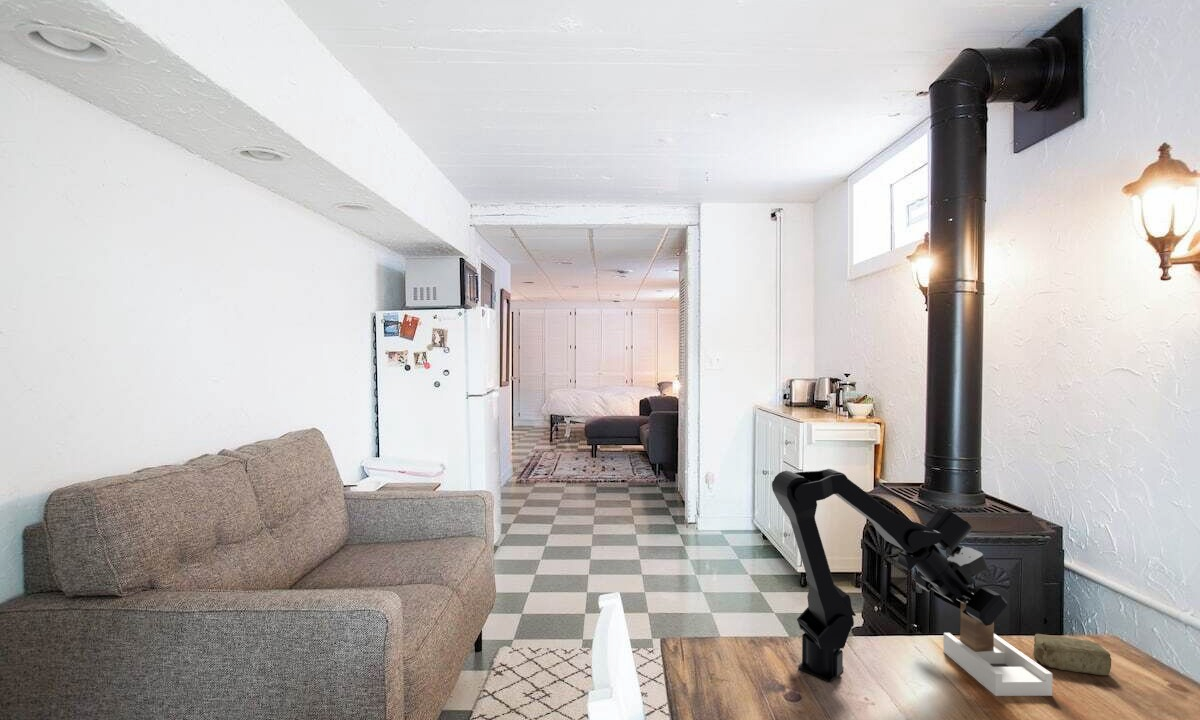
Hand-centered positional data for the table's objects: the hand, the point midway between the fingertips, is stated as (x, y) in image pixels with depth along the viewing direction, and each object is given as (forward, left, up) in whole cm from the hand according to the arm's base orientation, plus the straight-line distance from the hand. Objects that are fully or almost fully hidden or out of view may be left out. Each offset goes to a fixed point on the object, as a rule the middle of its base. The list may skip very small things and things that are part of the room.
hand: (983, 617), depth 114 cm
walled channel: (+3, -5, -8) cm, 10 cm away
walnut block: (-1, -1, -6) cm, 6 cm away
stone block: (+13, +9, -9) cm, 18 cm away
